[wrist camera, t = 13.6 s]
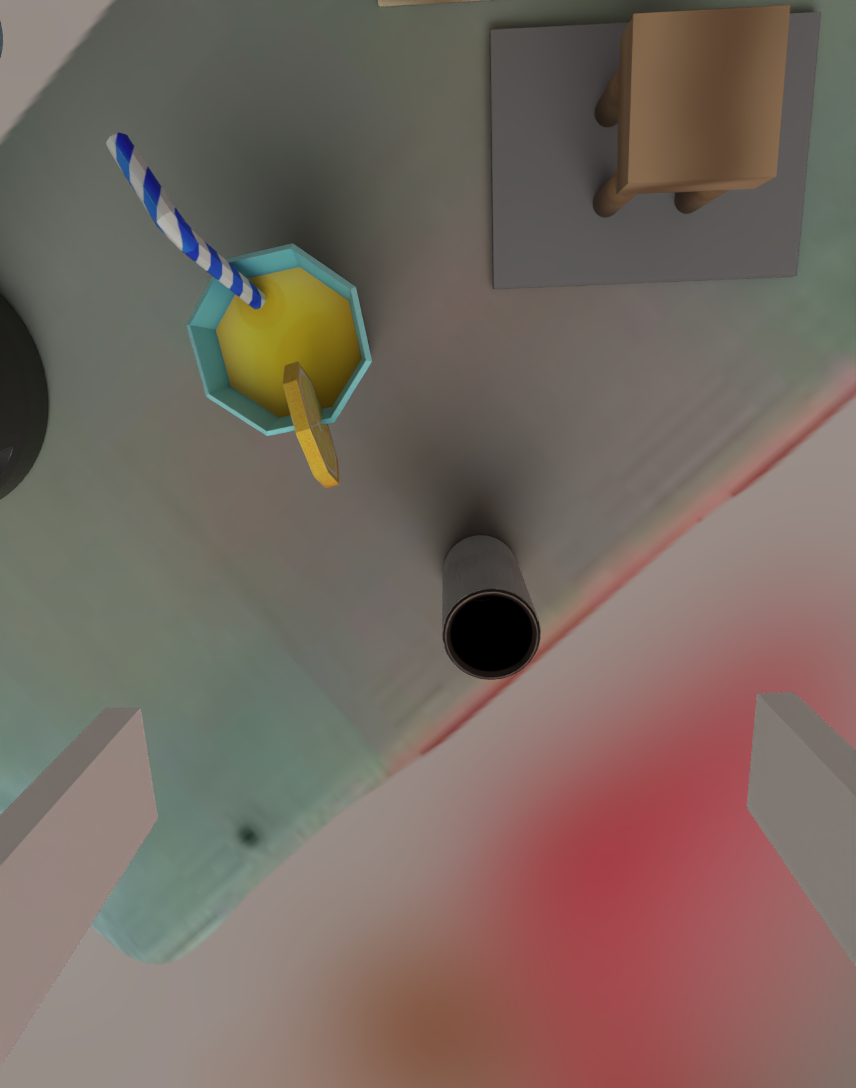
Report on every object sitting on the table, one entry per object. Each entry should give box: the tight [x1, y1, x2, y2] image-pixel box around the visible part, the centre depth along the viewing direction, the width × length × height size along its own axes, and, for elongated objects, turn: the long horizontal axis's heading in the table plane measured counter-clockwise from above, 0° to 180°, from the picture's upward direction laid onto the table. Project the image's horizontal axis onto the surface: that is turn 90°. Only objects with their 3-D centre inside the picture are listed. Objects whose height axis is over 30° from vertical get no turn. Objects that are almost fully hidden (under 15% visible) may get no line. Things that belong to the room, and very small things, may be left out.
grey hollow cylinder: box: [442, 535, 541, 680], centre depth 36 cm, size 4×4×10 cm
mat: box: [490, 12, 821, 289], centre depth 35 cm, size 16×12×1 cm
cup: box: [106, 133, 372, 488], centre depth 31 cm, size 14×8×15 cm, turn 34°
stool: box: [593, 5, 790, 218], centre depth 31 cm, size 6×6×8 cm
